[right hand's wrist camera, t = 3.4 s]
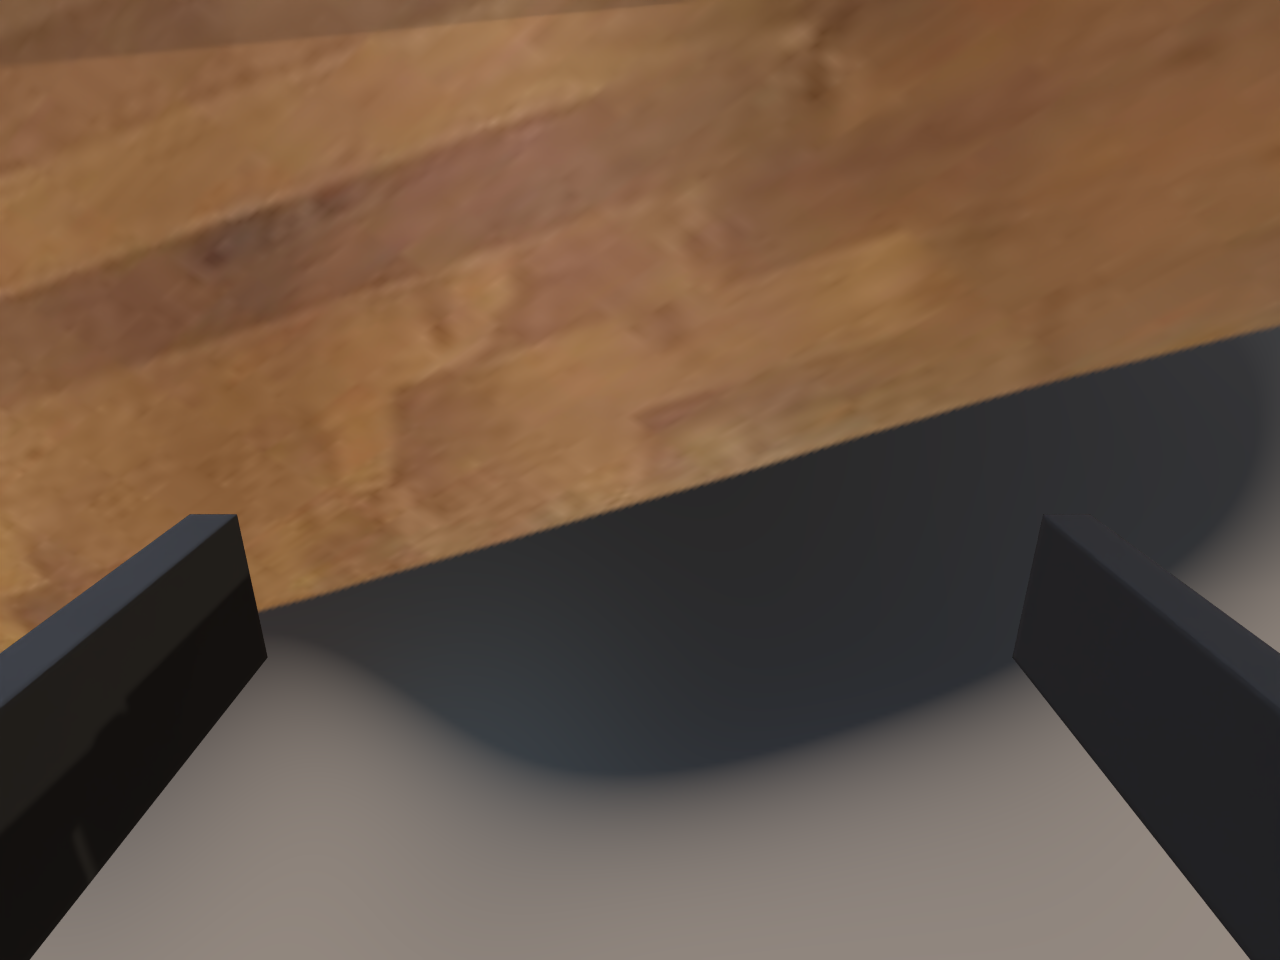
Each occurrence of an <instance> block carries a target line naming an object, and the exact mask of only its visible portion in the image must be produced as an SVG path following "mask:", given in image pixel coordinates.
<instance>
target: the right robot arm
mask: <svg viewBox="0 0 1280 960" xmlns="http://www.w3.org/2000/svg"><path fill="white" fill-rule="evenodd" d="M266 659H267V653H266V648H265V643H264V639H263V634H262V629H261V625H260V620H259V615H258V611H257V606H256V601H255V597H254V592H253V587H252V583H251V578H250V573H249V569H248V564H247V559H246V555H245V550H244V545H243V541H242V536H241V531H240V527H239V522H238V517H237V514H190V515H188V516H187V517H186V518H184V519H183V520H182V521H180V522H179V523H177V524H176V525H175V526H173V527H172V528H171V529H169V530H168V531H167V532H165V533H164V534H162V535H161V536H160V537H158V538H157V539H156V540H154V541H153V542H152V543H150V544H149V545H147V546H146V547H145V548H143V549H142V550H141V551H139V552H138V553H137V554H135V555H134V556H132V557H131V558H130V559H128V560H127V561H126V562H124V563H123V564H122V565H120V566H119V567H117V568H116V569H115V570H113V571H112V572H111V573H109V574H108V575H107V576H105V577H104V578H102V579H101V580H100V581H98V582H97V583H96V584H94V585H93V586H92V587H90V588H89V589H87V590H86V591H85V592H83V593H82V594H81V595H79V596H78V597H77V598H75V599H74V600H72V601H71V602H70V603H68V604H67V605H66V606H64V607H63V608H62V609H60V610H59V611H57V612H56V613H55V614H53V615H52V616H51V617H49V618H48V619H47V620H45V621H44V622H42V623H41V624H40V625H38V626H37V627H36V628H34V629H33V630H32V631H30V632H29V633H27V634H26V635H25V636H23V637H22V638H21V639H19V640H18V641H17V642H15V643H14V644H12V645H11V646H10V647H8V648H7V649H6V650H4V651H3V652H2V653H0V960H30V959H31V957H32V956H33V955H34V953H35V952H36V951H37V950H38V948H39V947H40V946H41V945H42V943H43V942H44V941H45V940H46V938H47V937H48V936H49V934H50V933H51V932H52V931H53V929H54V928H55V927H56V926H57V924H58V923H59V922H60V920H61V919H62V918H63V917H64V915H65V914H66V913H67V912H68V910H69V909H70V908H71V906H72V905H73V904H74V903H75V901H76V900H77V899H78V898H79V896H80V895H81V894H82V893H83V891H84V890H85V889H86V887H87V886H88V885H89V884H90V882H91V881H92V880H93V879H94V877H95V876H96V875H97V873H98V872H99V871H100V870H101V868H102V867H103V866H104V865H105V863H106V862H107V861H108V859H109V858H110V857H111V856H112V854H113V853H114V852H115V851H116V849H117V848H118V847H119V846H120V844H121V843H122V842H123V840H124V839H125V838H126V837H127V835H128V834H129V833H130V832H131V830H132V829H133V828H134V826H135V825H136V824H137V823H138V821H139V820H140V819H141V818H142V816H143V815H144V814H145V812H146V811H147V810H148V809H149V807H150V806H151V805H152V804H153V802H154V801H155V800H156V798H157V797H158V796H159V795H160V793H161V792H162V791H163V790H164V788H165V787H166V786H167V785H168V783H169V782H170V781H171V779H172V778H173V777H174V776H175V774H176V773H177V772H178V770H179V769H180V768H181V767H182V765H183V764H184V763H185V762H186V760H187V759H188V758H189V757H190V755H191V754H192V753H193V751H194V750H195V749H196V748H197V746H198V745H199V744H200V743H201V741H202V740H203V739H204V738H205V736H206V735H207V734H208V732H209V731H210V730H211V729H212V727H213V726H214V725H215V724H216V722H217V721H218V720H219V718H220V717H221V716H222V715H223V713H224V712H225V711H226V710H227V708H228V707H229V706H230V704H231V703H232V702H233V701H234V699H235V698H236V697H237V696H238V694H239V693H240V692H241V690H242V689H243V688H244V687H245V685H246V684H247V683H248V682H249V680H250V679H251V678H252V677H253V675H254V674H255V673H256V671H257V670H258V669H259V668H260V666H261V665H262V664H263V662H264V661H265V660H266ZM1013 659H1014V660H1015V661H1016V663H1017V664H1018V665H1019V666H1020V668H1021V669H1022V670H1023V671H1024V673H1025V674H1026V675H1027V676H1028V678H1029V679H1030V680H1031V682H1032V683H1033V684H1034V685H1035V687H1036V688H1037V689H1038V690H1039V692H1040V693H1041V694H1042V696H1043V697H1044V698H1045V699H1046V701H1047V702H1048V703H1049V704H1050V706H1051V707H1052V708H1053V710H1054V711H1055V712H1056V713H1057V715H1058V716H1059V717H1060V718H1061V720H1062V721H1063V722H1064V723H1065V725H1066V726H1067V727H1068V728H1069V730H1070V731H1071V732H1072V734H1073V735H1074V736H1075V737H1076V739H1077V740H1078V741H1079V743H1080V744H1081V745H1082V746H1083V748H1084V749H1085V750H1086V751H1087V753H1088V754H1089V755H1090V757H1091V758H1092V759H1093V760H1094V762H1095V763H1096V764H1097V765H1098V767H1099V768H1100V769H1101V771H1102V772H1103V773H1104V774H1105V776H1106V777H1107V778H1108V779H1109V781H1110V782H1111V783H1112V785H1113V786H1114V787H1115V788H1116V790H1117V791H1118V792H1119V793H1120V795H1121V796H1122V797H1123V798H1124V800H1125V801H1126V802H1127V803H1128V805H1129V806H1130V807H1131V809H1132V810H1133V811H1134V812H1135V814H1136V815H1137V816H1138V817H1139V819H1140V820H1141V821H1142V823H1143V824H1144V825H1145V826H1146V828H1147V829H1148V830H1149V832H1150V833H1151V834H1152V835H1153V837H1154V838H1155V839H1156V840H1157V842H1158V843H1159V844H1160V845H1161V847H1162V848H1163V849H1164V851H1165V852H1166V853H1167V854H1168V856H1169V857H1170V858H1171V859H1172V861H1173V862H1174V863H1175V865H1176V866H1177V867H1178V868H1179V870H1180V871H1181V872H1182V873H1183V875H1184V876H1185V877H1186V878H1187V880H1188V881H1189V882H1190V884H1191V885H1192V886H1193V887H1194V889H1195V890H1196V891H1197V893H1198V894H1199V895H1200V896H1201V897H1202V899H1203V900H1204V901H1205V903H1206V904H1207V905H1208V907H1209V908H1210V909H1211V910H1212V912H1213V913H1214V914H1215V915H1216V917H1217V918H1218V919H1219V920H1220V922H1221V923H1222V924H1223V926H1224V927H1225V928H1226V929H1227V931H1228V932H1229V933H1230V934H1231V936H1232V937H1233V938H1234V940H1235V941H1236V942H1237V943H1238V945H1239V946H1240V947H1241V948H1242V950H1243V951H1244V952H1245V954H1246V955H1247V956H1248V957H1249V959H1250V960H1280V653H1278V652H1277V651H1276V650H1274V649H1273V648H1272V647H1270V646H1269V645H1268V644H1266V643H1265V642H1263V641H1262V640H1261V639H1259V638H1258V637H1257V636H1255V635H1254V634H1253V633H1251V632H1250V631H1248V630H1247V629H1246V628H1244V627H1243V626H1242V625H1240V624H1239V623H1237V622H1236V621H1235V620H1233V619H1232V618H1231V617H1229V616H1228V615H1227V614H1225V613H1224V612H1223V611H1221V610H1220V609H1218V608H1217V607H1216V606H1214V605H1213V604H1212V603H1210V602H1209V601H1208V600H1206V599H1205V598H1203V597H1202V596H1201V595H1199V594H1198V593H1197V592H1195V591H1194V590H1193V589H1191V588H1190V587H1188V586H1187V585H1186V584H1184V583H1183V582H1182V581H1180V580H1179V579H1177V578H1176V577H1175V576H1173V575H1172V574H1171V573H1169V572H1168V571H1167V570H1165V569H1164V568H1163V567H1161V566H1160V565H1158V564H1157V563H1156V562H1154V561H1153V560H1152V559H1150V558H1149V557H1148V556H1146V555H1145V554H1143V553H1142V552H1141V551H1139V550H1138V549H1137V548H1135V547H1134V546H1133V545H1131V544H1130V543H1128V542H1127V541H1126V540H1124V539H1123V538H1122V537H1120V536H1119V535H1118V534H1116V533H1115V532H1113V531H1112V530H1111V529H1109V528H1108V527H1107V526H1105V525H1104V524H1103V523H1101V522H1100V521H1098V520H1097V519H1096V518H1094V517H1093V516H1092V515H1090V514H1043V517H1042V522H1041V527H1040V531H1039V536H1038V541H1037V545H1036V550H1035V555H1034V560H1033V564H1032V569H1031V573H1030V578H1029V583H1028V587H1027V592H1026V597H1025V601H1024V606H1023V611H1022V615H1021V620H1020V625H1019V629H1018V634H1017V639H1016V643H1015V648H1014V653H1013Z"/></svg>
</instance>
